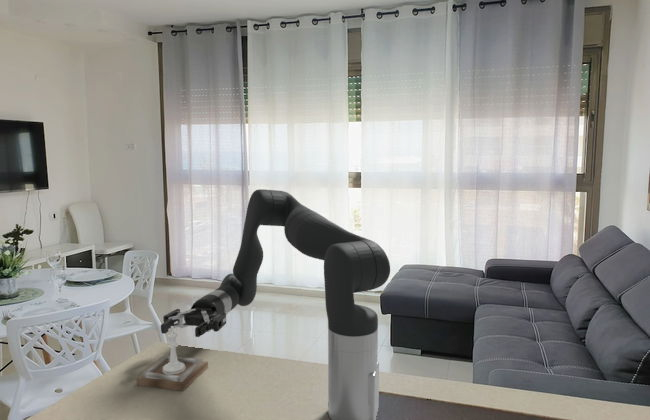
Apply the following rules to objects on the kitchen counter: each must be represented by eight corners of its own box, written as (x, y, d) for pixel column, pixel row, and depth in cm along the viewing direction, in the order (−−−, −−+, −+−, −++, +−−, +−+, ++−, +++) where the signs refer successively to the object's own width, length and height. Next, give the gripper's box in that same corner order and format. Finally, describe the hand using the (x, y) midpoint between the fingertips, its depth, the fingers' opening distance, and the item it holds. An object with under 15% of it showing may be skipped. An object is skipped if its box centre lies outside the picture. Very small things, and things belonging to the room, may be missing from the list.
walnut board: (208, 367, 111) (207, 358, 110) (183, 391, 100) (182, 380, 100) (165, 363, 113) (165, 353, 113) (137, 385, 103) (136, 374, 102)
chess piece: (178, 375, 104) (176, 331, 102) (158, 373, 105) (155, 329, 103) (189, 365, 108) (187, 323, 107) (169, 363, 109) (167, 321, 108)
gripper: (186, 292, 126) (150, 312, 110) (237, 295, 122) (207, 317, 107) (188, 319, 127) (152, 344, 111) (238, 324, 123) (208, 350, 108)
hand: (179, 331), depth 109 cm, fingers open, 8 cm apart
